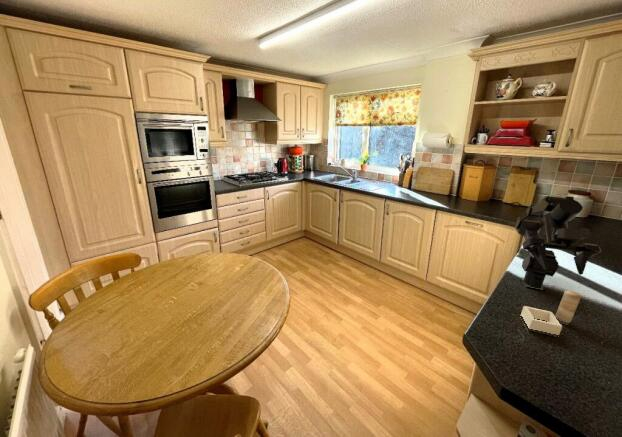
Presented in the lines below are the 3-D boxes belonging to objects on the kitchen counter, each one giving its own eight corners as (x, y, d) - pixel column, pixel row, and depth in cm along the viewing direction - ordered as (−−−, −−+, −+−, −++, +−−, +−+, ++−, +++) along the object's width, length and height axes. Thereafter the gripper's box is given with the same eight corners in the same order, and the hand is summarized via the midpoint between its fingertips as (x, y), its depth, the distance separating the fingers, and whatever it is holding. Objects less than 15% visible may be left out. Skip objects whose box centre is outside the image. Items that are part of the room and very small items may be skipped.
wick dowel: (552, 316, 85) (562, 289, 81) (566, 319, 83) (577, 292, 80) (557, 323, 81) (568, 295, 78) (572, 326, 80) (583, 298, 77)
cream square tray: (520, 316, 84) (523, 305, 83) (547, 322, 82) (551, 311, 80) (528, 330, 78) (532, 319, 77) (557, 338, 76) (562, 326, 74)
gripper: (536, 213, 87) (541, 258, 81) (608, 221, 82) (620, 269, 75) (520, 228, 97) (524, 269, 90) (584, 236, 91) (592, 279, 85)
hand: (563, 271), depth 85 cm, fingers open, 9 cm apart
